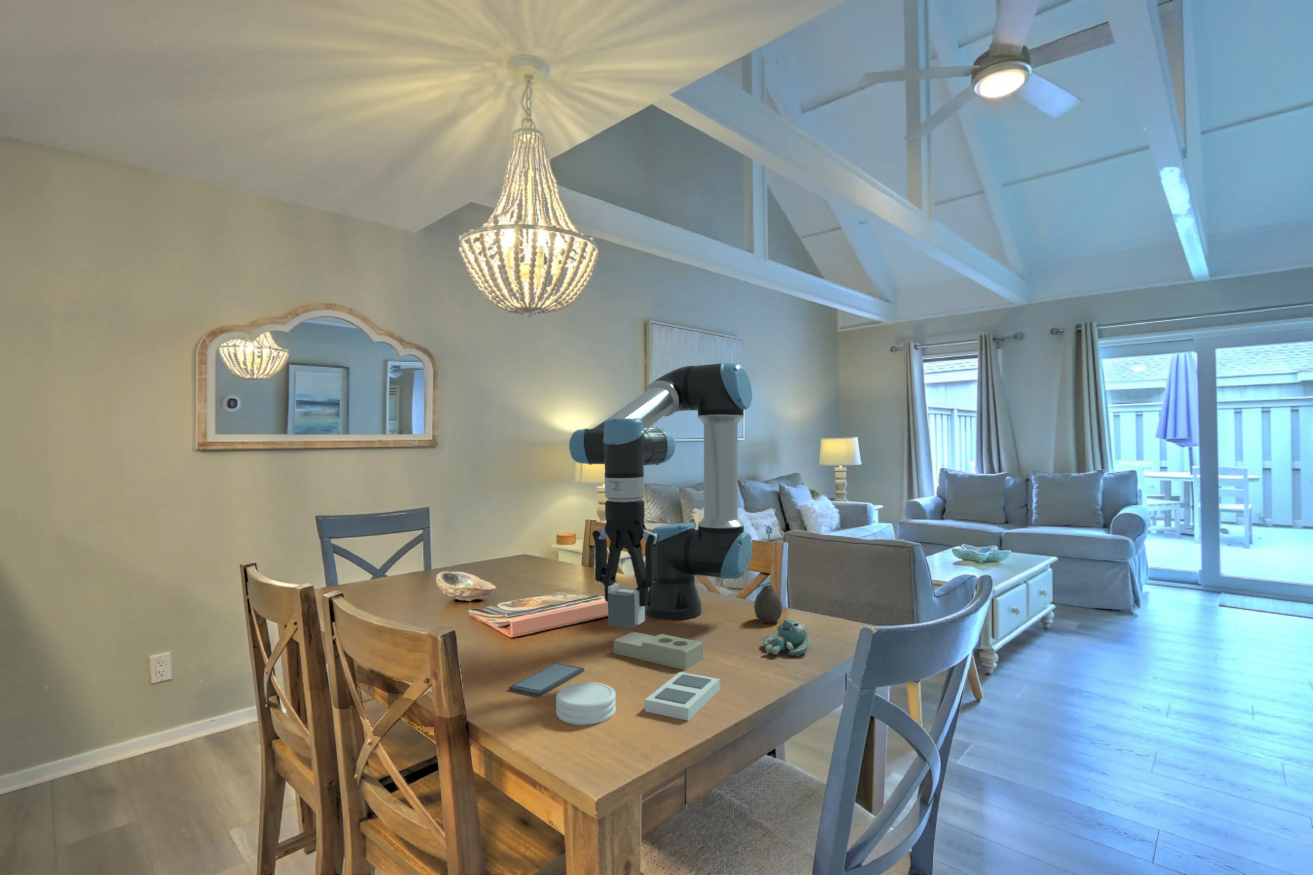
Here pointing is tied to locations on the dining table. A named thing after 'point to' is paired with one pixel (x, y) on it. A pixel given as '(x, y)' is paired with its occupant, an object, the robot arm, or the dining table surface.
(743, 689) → the dining table surface
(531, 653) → the dining table surface
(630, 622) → the block
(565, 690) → the coaster
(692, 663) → the electrical outlet
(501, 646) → the dining table surface
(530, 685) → the phone
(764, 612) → the vase
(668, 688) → the plate
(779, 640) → the stuffed animal
